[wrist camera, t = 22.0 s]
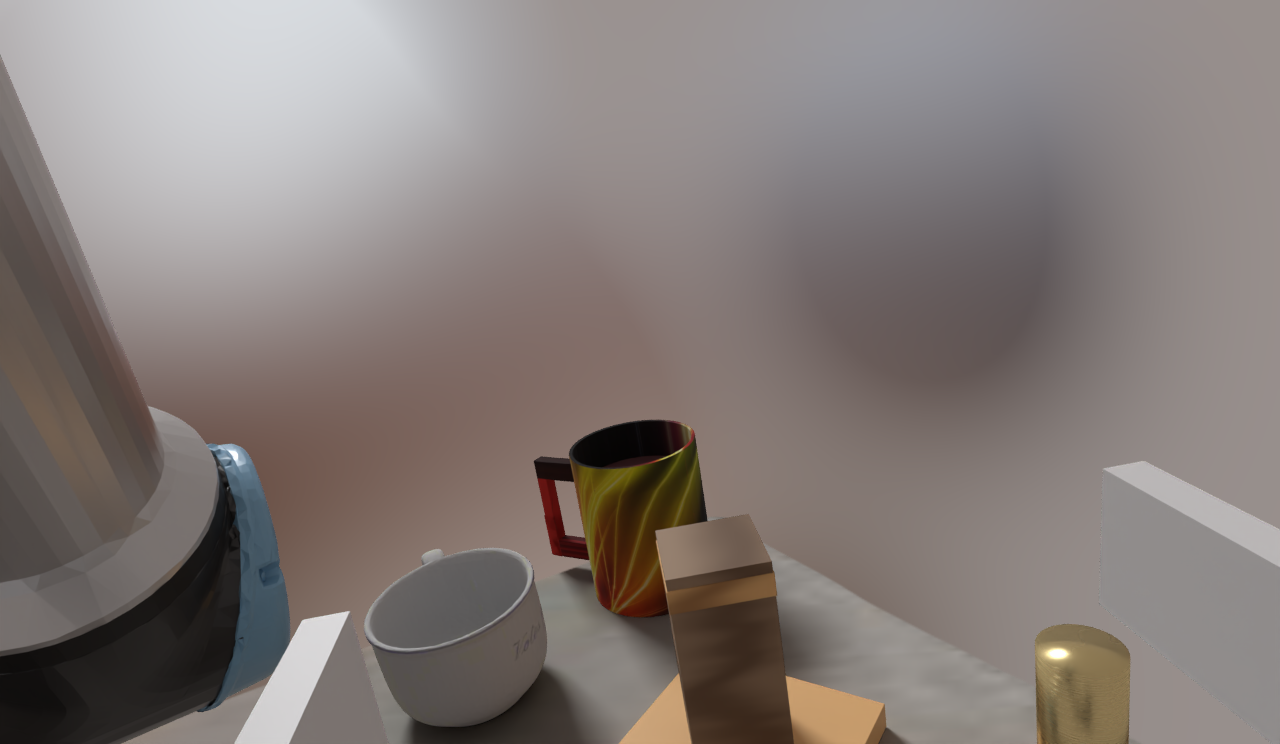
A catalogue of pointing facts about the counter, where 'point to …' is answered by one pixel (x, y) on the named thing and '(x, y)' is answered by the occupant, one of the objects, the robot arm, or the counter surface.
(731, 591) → the link block
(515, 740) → the counter surface
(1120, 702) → the sprocket
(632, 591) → the mug
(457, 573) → the teacup
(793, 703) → the light orange square slab
